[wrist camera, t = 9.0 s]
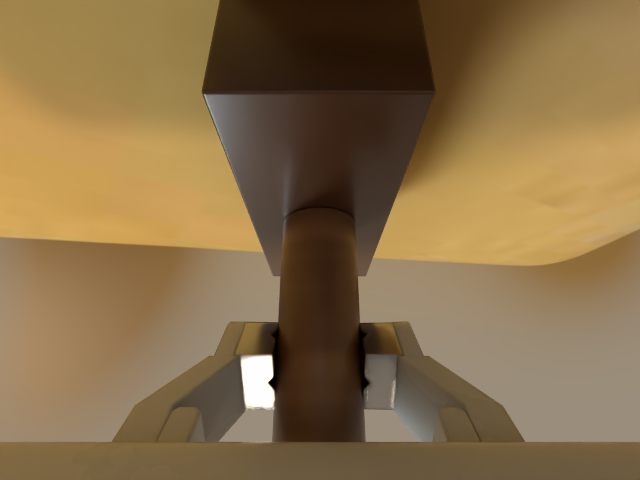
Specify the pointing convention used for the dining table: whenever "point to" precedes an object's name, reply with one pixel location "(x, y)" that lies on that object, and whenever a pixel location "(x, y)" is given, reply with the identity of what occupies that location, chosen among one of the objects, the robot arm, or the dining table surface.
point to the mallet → (319, 174)
